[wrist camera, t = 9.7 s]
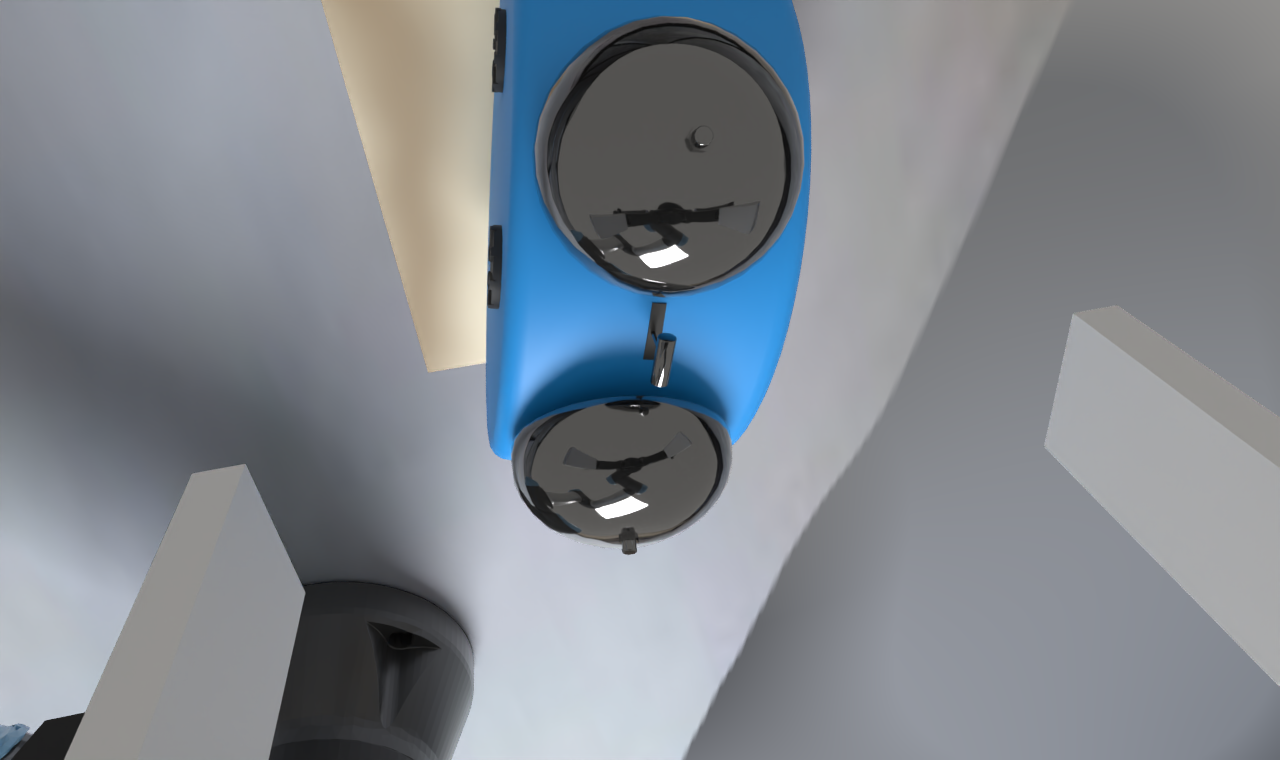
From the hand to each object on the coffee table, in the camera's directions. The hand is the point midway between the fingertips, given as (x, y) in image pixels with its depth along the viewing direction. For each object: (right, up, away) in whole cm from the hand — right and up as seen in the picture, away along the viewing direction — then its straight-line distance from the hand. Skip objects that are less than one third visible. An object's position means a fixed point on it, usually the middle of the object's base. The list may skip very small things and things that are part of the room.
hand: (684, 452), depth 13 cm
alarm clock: (-3, +9, +14) cm, 17 cm away
